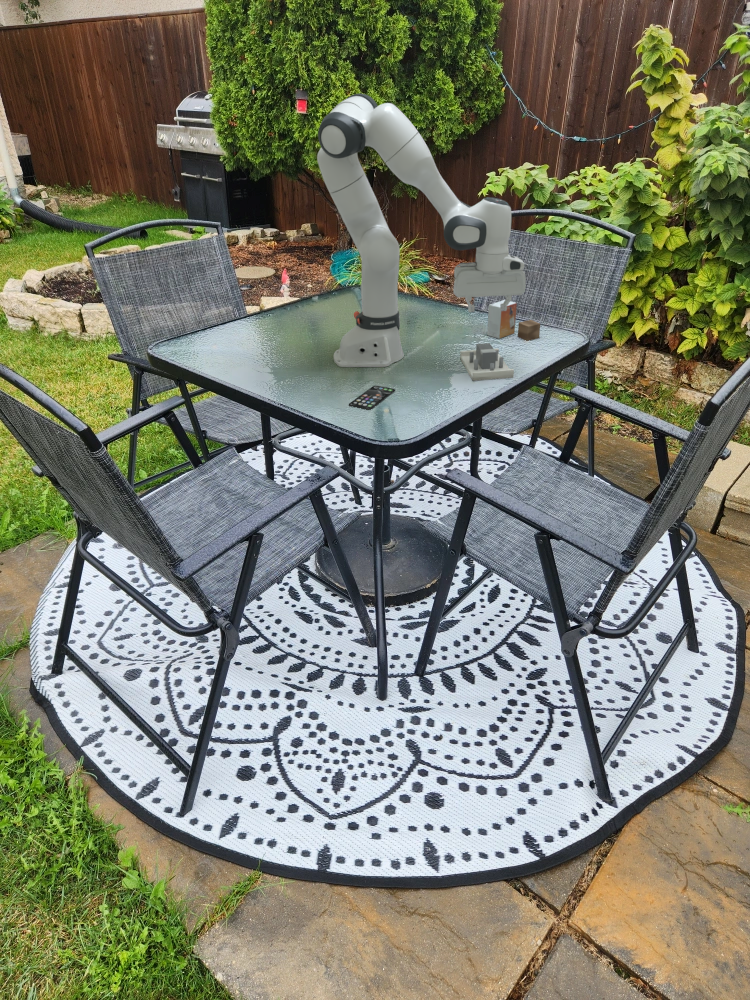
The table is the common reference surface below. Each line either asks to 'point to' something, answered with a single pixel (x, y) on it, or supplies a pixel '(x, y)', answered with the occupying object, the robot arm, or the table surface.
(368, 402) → the smartphone
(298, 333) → the table surface
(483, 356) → the block
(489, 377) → the peg board
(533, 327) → the walnut block
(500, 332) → the small box
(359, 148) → the robot arm
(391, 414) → the table surface
